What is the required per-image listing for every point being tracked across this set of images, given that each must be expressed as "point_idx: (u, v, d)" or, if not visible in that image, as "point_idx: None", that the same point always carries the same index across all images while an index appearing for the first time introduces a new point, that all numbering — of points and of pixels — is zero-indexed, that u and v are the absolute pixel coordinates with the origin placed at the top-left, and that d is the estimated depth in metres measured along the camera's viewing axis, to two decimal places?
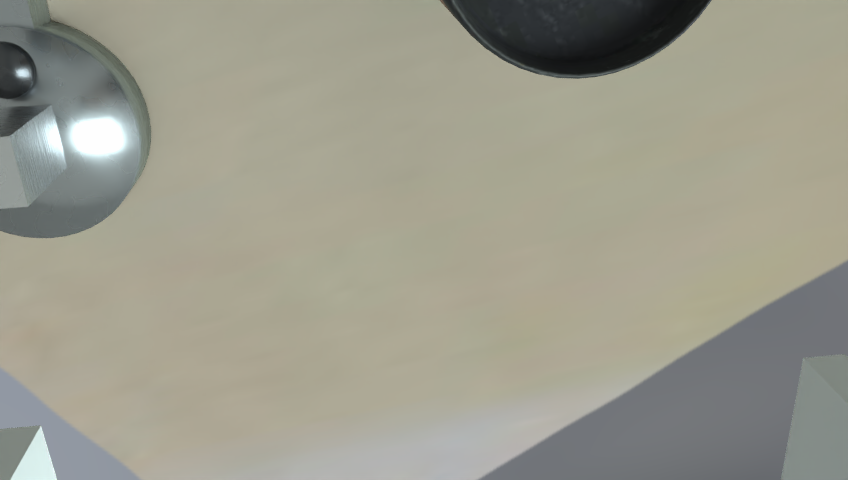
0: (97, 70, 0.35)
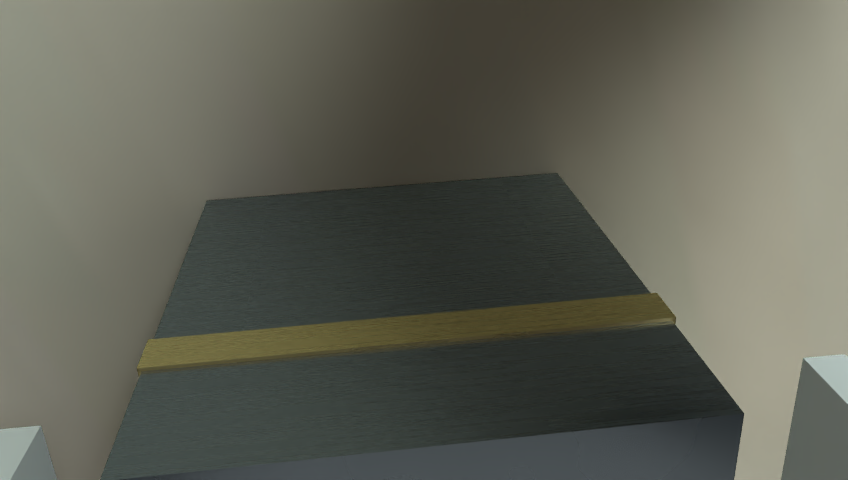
0: None
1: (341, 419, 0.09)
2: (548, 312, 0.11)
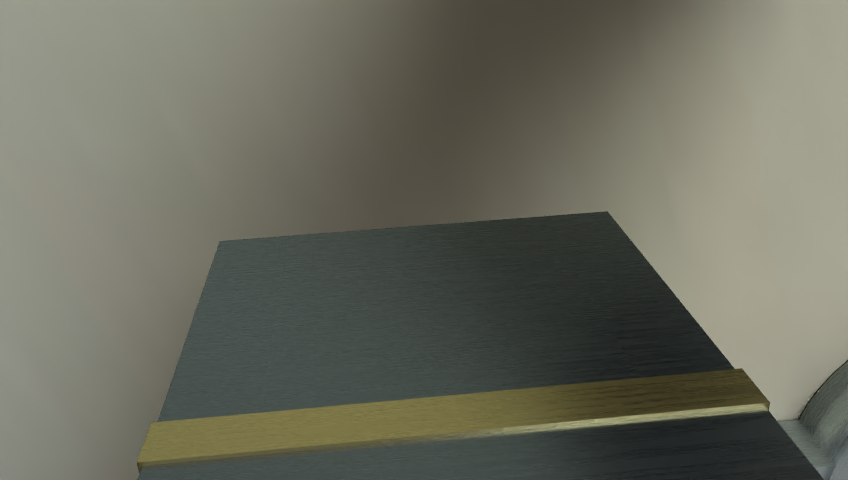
0: None
1: None
2: (617, 393, 0.09)
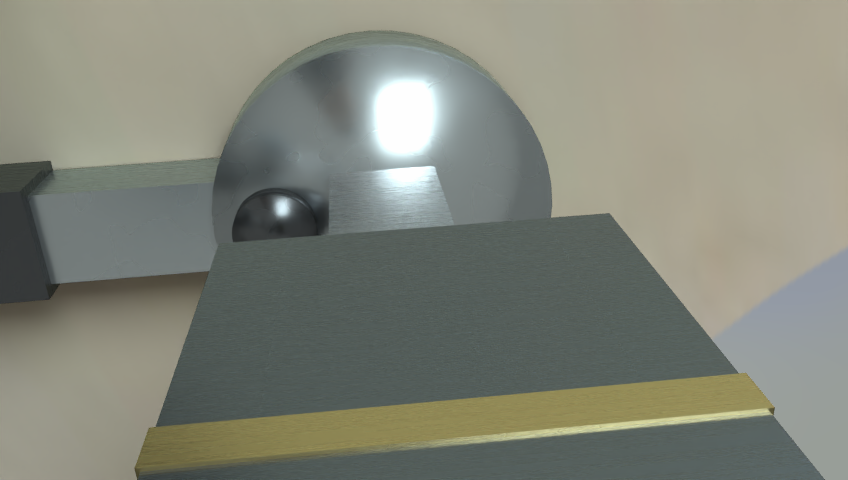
0: (270, 97, 0.22)
1: None
2: (620, 397, 0.09)
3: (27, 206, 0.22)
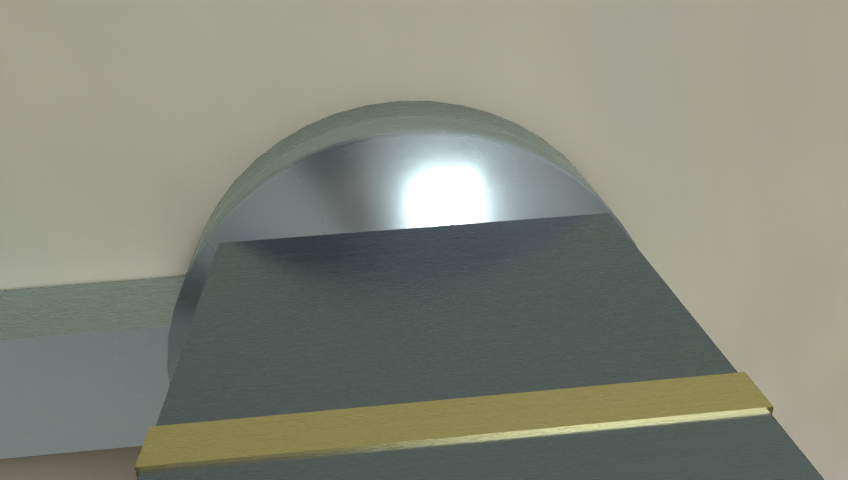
0: (251, 210, 0.14)
1: None
2: (619, 396, 0.09)
3: None
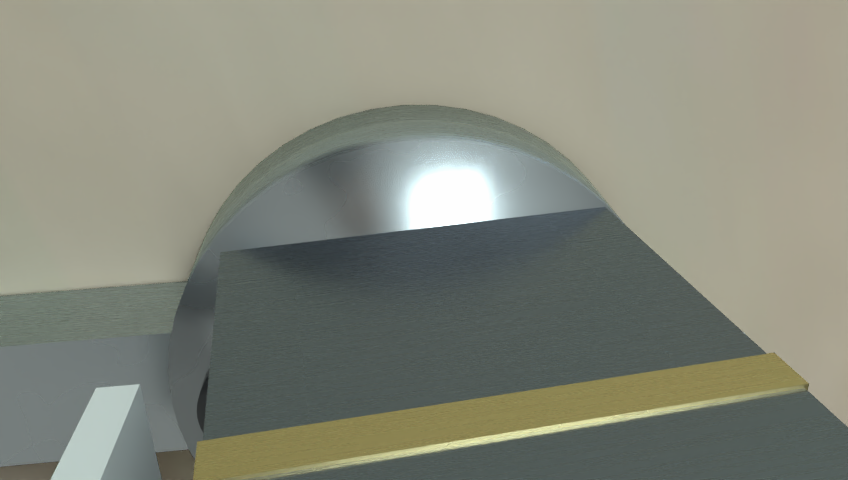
0: (253, 215, 0.14)
1: None
2: (660, 382, 0.10)
3: None
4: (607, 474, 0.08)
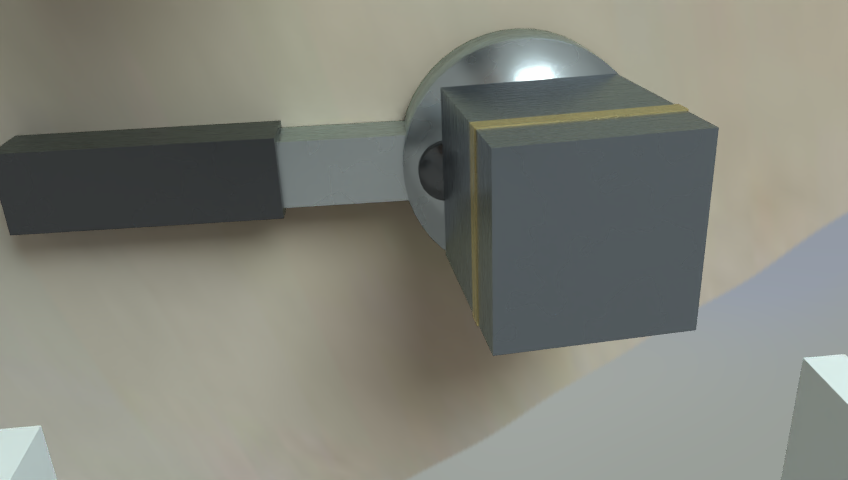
0: (452, 73, 0.31)
1: (568, 134, 0.24)
2: (634, 110, 0.26)
3: (276, 149, 0.32)
4: (613, 125, 0.25)
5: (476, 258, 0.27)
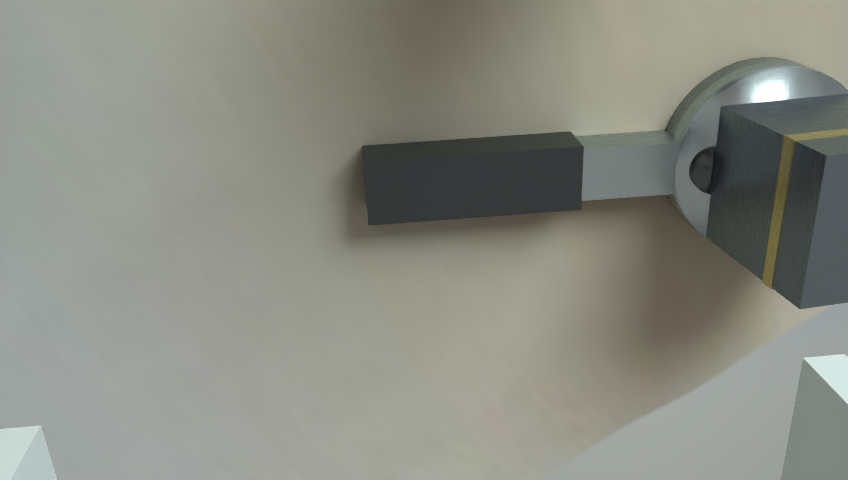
0: (725, 94, 0.39)
1: None
2: None
3: (582, 155, 0.40)
4: None
5: (778, 237, 0.35)
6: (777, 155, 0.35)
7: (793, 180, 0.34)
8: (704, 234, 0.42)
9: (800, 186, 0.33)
